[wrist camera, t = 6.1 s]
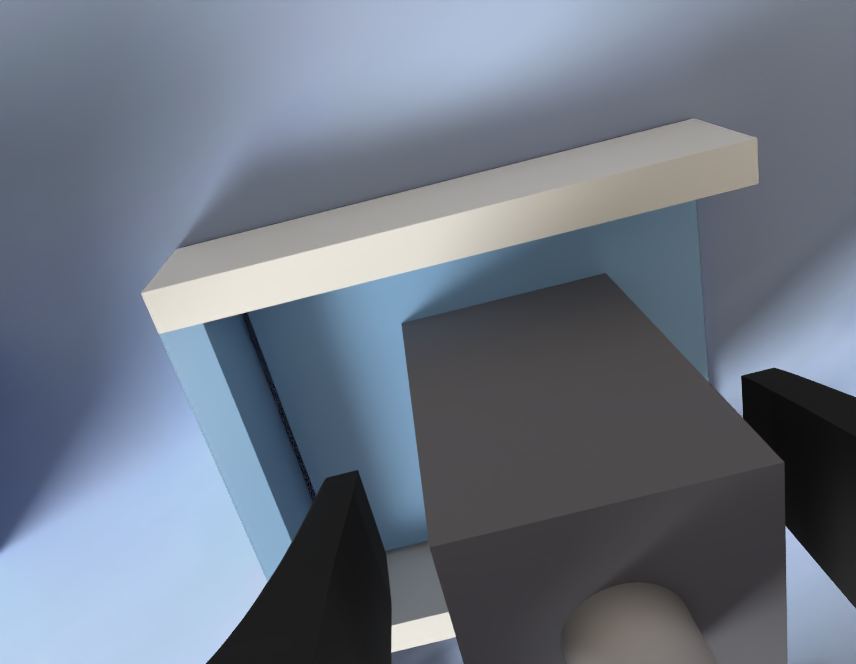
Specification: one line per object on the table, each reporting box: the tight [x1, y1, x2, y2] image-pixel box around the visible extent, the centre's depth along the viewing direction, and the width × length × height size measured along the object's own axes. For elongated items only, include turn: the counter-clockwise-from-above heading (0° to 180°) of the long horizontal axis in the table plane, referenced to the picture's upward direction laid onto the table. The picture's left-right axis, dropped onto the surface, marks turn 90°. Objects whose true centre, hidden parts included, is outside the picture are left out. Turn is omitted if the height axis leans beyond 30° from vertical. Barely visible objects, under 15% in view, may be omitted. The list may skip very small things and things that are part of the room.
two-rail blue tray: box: [141, 118, 759, 653], centre depth 17 cm, size 18×11×2 cm, turn 13°
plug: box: [401, 273, 787, 664], centre depth 12 cm, size 4×4×8 cm
